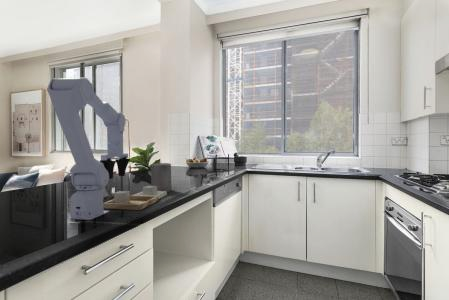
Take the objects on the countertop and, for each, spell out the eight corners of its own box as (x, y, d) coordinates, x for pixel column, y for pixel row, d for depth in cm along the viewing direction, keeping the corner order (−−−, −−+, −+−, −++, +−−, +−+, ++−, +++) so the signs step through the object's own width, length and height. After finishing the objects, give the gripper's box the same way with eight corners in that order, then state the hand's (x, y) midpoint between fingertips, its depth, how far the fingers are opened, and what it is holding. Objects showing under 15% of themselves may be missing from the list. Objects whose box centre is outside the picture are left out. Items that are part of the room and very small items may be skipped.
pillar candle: (155, 189, 124) (154, 160, 124) (173, 189, 124) (173, 160, 124) (148, 193, 115) (147, 162, 114) (168, 193, 114) (168, 162, 114)
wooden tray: (140, 211, 83) (140, 205, 83) (101, 209, 86) (101, 203, 86) (158, 201, 97) (158, 196, 97) (124, 200, 100) (124, 195, 100)
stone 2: (152, 198, 101) (152, 187, 101) (143, 197, 102) (142, 187, 102) (157, 196, 105) (157, 186, 105) (147, 195, 106) (147, 185, 106)
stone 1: (126, 204, 91) (126, 193, 90) (114, 205, 90) (114, 193, 90) (130, 202, 94) (129, 191, 94) (118, 202, 94) (118, 191, 94)
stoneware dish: (155, 201, 98) (155, 196, 97) (132, 200, 99) (132, 195, 99) (166, 195, 108) (166, 191, 108) (145, 195, 110) (145, 190, 110)
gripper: (112, 143, 87) (113, 180, 87) (134, 143, 101) (135, 175, 101) (95, 143, 88) (96, 179, 88) (119, 143, 102) (120, 174, 102)
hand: (115, 177), depth 95 cm, fingers open, 7 cm apart
